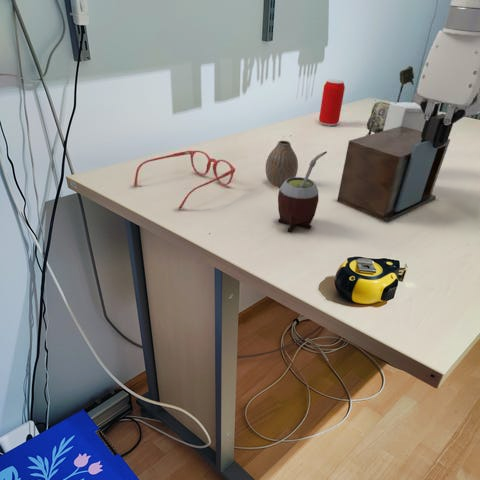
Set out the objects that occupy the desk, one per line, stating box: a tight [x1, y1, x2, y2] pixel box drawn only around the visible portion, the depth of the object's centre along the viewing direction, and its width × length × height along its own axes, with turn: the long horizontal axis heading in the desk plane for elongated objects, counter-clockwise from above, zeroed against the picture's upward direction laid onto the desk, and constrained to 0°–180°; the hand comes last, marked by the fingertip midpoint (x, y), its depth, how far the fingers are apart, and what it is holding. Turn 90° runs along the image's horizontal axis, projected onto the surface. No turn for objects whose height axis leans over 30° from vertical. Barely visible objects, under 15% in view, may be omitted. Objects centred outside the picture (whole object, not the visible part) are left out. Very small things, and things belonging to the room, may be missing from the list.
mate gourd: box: [277, 150, 328, 233], centre depth 73 cm, size 8×8×15 cm
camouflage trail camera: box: [365, 65, 415, 136], centre depth 105 cm, size 8×11×20 cm
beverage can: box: [318, 78, 346, 127], centre depth 128 cm, size 6×6×12 cm
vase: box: [265, 140, 299, 188], centre depth 90 cm, size 7×7×9 cm
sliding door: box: [395, 113, 446, 212], centre depth 78 cm, size 2×9×16 cm, turn 131°
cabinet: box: [336, 126, 451, 224], centre depth 84 cm, size 12×18×12 cm
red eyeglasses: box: [133, 150, 236, 210], centre depth 87 cm, size 17×16×5 cm
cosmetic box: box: [383, 101, 426, 132], centre depth 97 cm, size 8×6×15 cm
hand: (432, 144), depth 77 cm, fingers closed on sliding door
